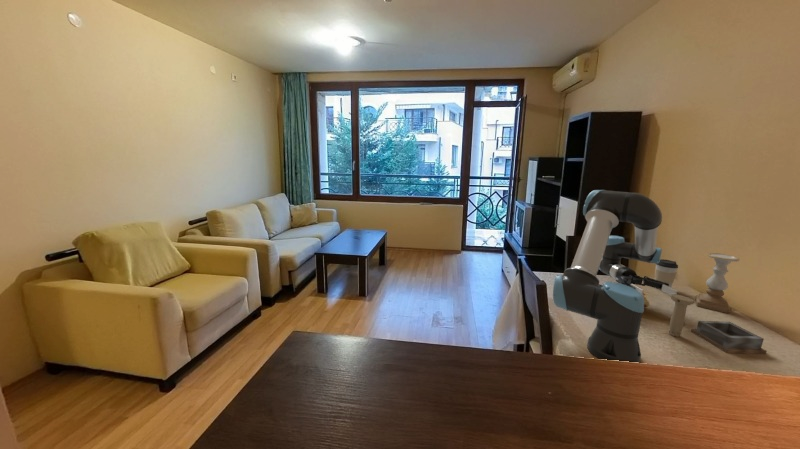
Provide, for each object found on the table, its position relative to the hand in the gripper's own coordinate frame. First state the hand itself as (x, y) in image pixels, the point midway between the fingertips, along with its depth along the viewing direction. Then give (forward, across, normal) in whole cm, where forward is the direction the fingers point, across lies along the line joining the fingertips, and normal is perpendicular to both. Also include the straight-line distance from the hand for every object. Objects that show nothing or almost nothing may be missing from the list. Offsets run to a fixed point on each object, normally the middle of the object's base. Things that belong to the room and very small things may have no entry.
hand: (659, 293), depth 132 cm
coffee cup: (-36, -33, -13) cm, 50 cm away
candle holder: (-16, -40, -13) cm, 45 cm away
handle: (+11, 0, -12) cm, 16 cm away
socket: (+15, -16, -12) cm, 25 cm away
